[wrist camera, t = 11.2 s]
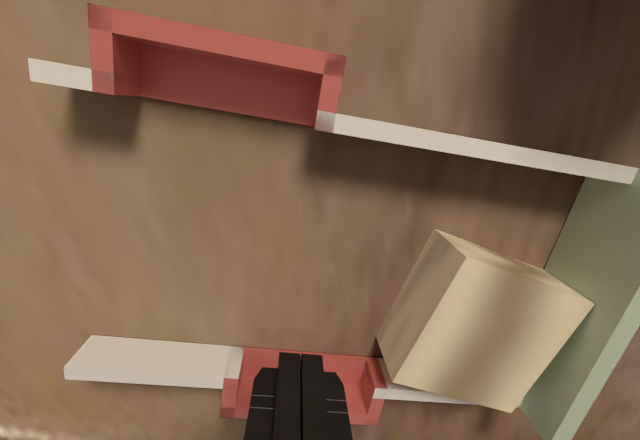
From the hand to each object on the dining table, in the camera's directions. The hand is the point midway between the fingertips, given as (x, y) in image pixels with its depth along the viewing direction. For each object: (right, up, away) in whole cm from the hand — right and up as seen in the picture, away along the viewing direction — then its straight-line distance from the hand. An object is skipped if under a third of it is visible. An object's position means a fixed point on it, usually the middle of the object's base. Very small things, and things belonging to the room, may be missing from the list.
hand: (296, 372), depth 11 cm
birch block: (+10, 0, +10) cm, 14 cm away
